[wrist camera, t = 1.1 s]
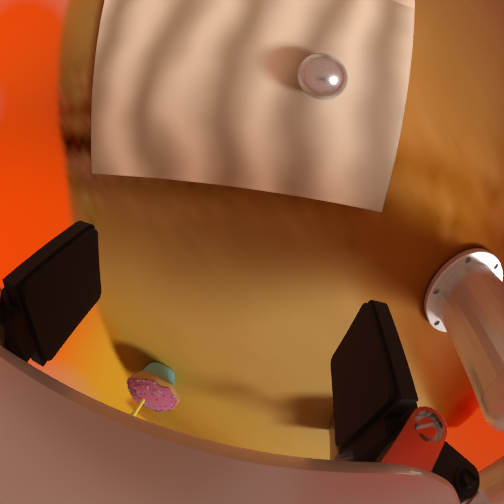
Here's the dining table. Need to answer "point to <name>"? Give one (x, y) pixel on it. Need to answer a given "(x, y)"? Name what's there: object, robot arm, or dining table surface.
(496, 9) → the dining table surface
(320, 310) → the dining table surface
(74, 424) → the robot arm
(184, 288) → the dining table surface
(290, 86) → the maple board
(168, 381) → the cupcake
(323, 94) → the steel ball
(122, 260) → the dining table surface
